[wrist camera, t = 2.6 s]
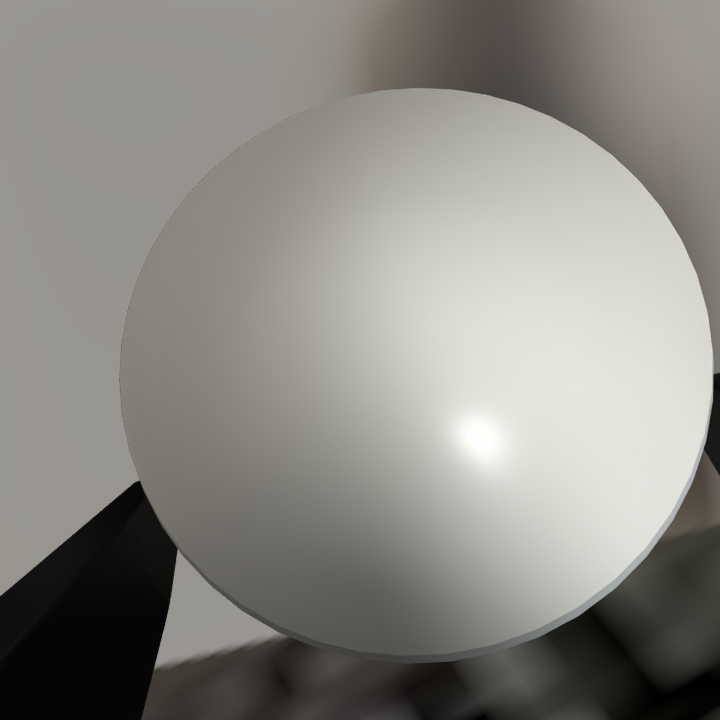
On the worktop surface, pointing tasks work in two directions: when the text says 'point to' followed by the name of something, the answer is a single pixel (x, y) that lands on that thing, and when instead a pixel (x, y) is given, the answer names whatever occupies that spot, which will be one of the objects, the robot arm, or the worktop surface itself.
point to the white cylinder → (417, 375)
